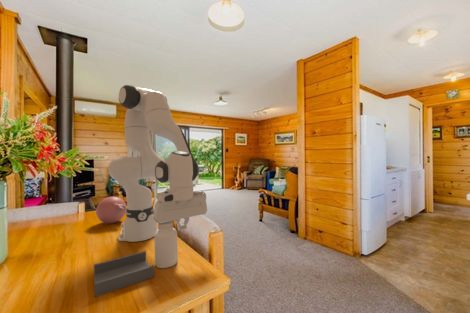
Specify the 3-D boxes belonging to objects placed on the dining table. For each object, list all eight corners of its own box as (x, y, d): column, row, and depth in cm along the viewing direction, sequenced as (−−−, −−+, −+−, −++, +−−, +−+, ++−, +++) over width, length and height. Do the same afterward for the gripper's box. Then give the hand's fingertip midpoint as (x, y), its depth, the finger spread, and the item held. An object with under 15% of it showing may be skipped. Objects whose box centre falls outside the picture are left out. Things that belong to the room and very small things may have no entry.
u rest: (94, 275, 69) (94, 264, 69) (145, 260, 78) (145, 251, 78) (94, 296, 59) (94, 284, 59) (153, 277, 68) (153, 266, 68)
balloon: (108, 230, 109) (107, 201, 109) (91, 224, 121) (91, 197, 121) (136, 222, 122) (135, 196, 122) (118, 217, 133) (118, 193, 133)
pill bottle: (169, 255, 82) (169, 217, 82) (182, 262, 77) (181, 221, 77) (150, 263, 76) (149, 223, 76) (162, 271, 71) (162, 227, 71)
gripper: (202, 189, 88) (203, 221, 88) (152, 195, 76) (152, 232, 77) (209, 191, 83) (210, 225, 83) (156, 198, 71) (157, 238, 71)
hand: (182, 229), depth 80 cm, fingers closed
